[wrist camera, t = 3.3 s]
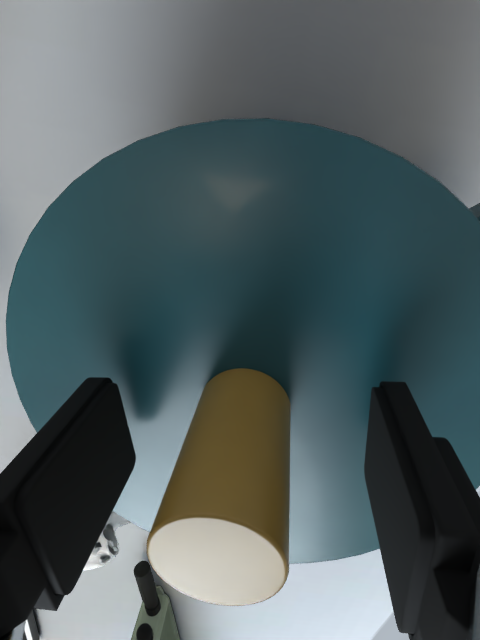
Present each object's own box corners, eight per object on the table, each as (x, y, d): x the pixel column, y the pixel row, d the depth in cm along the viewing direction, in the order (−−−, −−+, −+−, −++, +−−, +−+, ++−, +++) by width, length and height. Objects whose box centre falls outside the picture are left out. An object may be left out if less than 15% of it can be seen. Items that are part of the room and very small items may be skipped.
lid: (-56, 309, 12) (-315, 428, 7) (354, -46, 7) (519, -566, 2) (204, 567, 16) (162, 762, 11) (575, 458, 11) (812, 718, 6)
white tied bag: (100, 453, 28) (-3, 512, 29) (82, 540, 22) (-47, 612, 23) (140, 486, 30) (43, 540, 31) (133, 573, 24) (14, 636, 25)
